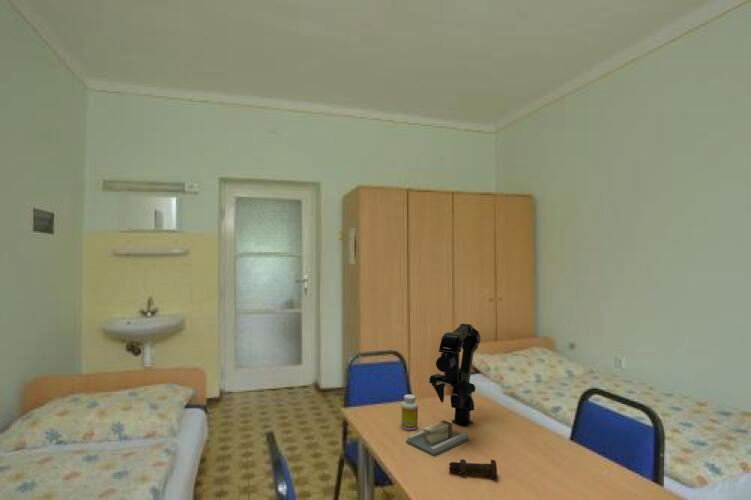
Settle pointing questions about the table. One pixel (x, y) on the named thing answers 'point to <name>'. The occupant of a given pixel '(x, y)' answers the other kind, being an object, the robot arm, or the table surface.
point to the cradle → (439, 447)
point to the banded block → (437, 432)
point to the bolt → (474, 468)
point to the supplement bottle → (409, 413)
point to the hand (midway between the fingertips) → (451, 405)
